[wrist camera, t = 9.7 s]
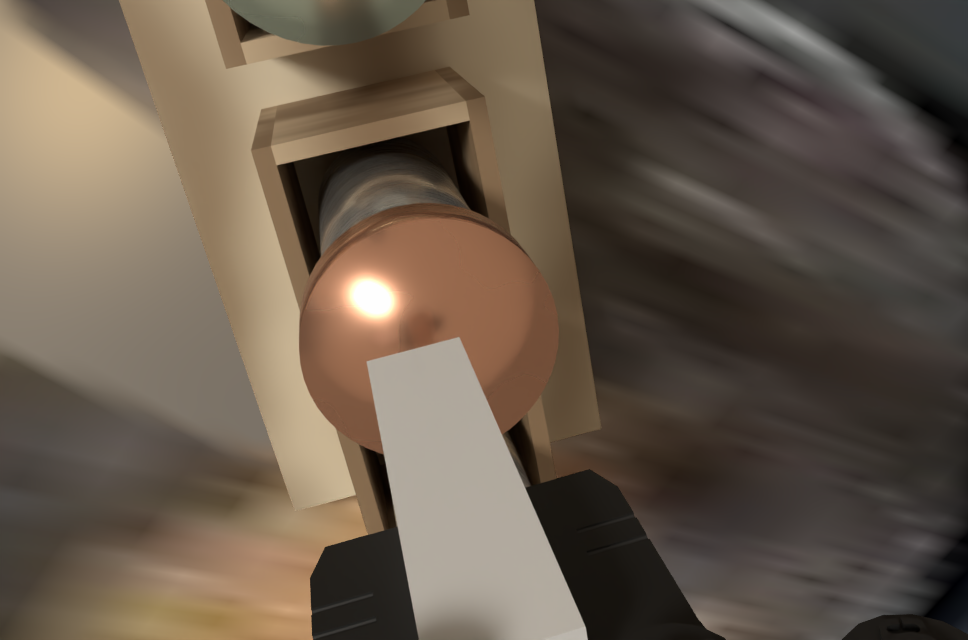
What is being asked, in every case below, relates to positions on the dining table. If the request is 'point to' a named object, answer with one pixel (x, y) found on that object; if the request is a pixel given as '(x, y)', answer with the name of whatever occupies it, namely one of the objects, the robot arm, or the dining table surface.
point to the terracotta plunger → (417, 288)
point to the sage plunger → (325, 18)
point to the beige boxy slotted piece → (300, 170)
